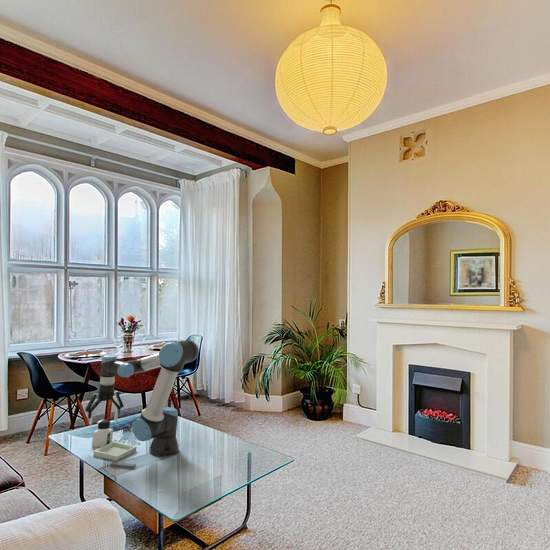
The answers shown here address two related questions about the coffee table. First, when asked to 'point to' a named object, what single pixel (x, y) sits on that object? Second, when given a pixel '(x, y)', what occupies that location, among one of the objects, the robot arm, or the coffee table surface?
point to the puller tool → (123, 465)
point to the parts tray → (114, 451)
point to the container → (102, 434)
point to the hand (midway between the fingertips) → (103, 422)
